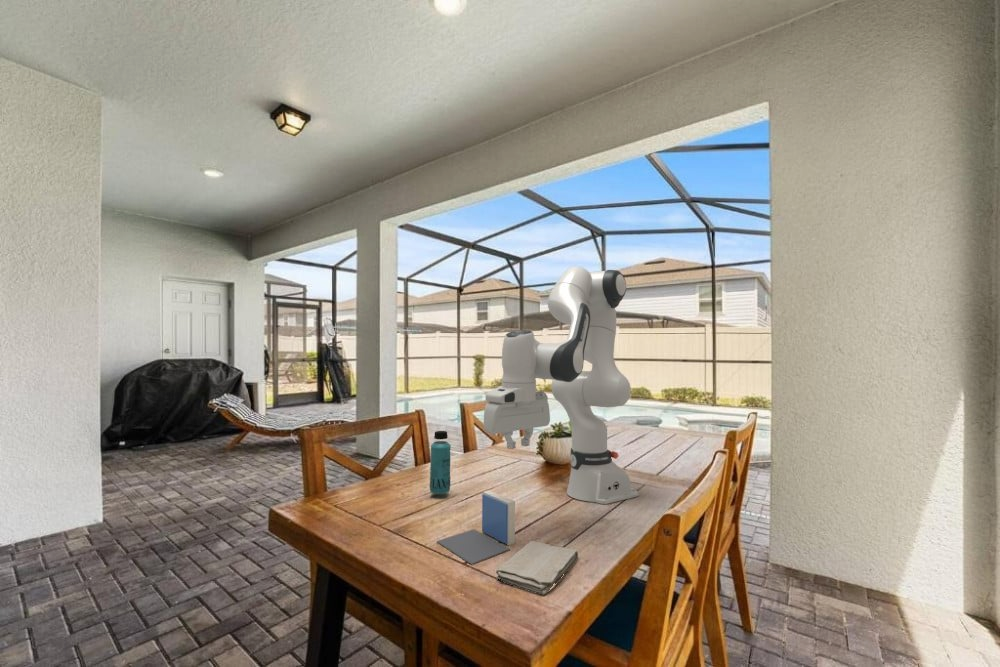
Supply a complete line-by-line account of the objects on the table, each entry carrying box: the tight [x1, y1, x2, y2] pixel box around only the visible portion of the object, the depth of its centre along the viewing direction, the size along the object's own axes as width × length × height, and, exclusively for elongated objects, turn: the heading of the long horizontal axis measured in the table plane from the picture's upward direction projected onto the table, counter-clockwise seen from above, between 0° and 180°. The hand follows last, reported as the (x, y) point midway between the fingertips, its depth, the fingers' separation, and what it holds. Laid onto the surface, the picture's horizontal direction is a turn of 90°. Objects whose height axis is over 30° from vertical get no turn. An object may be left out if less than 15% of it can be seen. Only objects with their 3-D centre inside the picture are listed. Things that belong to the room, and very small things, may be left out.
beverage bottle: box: [429, 430, 452, 495], centre depth 139 cm, size 6×7×20 cm
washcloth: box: [495, 540, 579, 596], centre depth 94 cm, size 12×18×3 cm, turn 151°
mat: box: [436, 528, 511, 566], centre depth 104 cm, size 11×14×1 cm
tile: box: [481, 490, 516, 546], centre depth 109 cm, size 2×10×10 cm, turn 40°
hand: (518, 447), depth 114 cm, fingers open, 3 cm apart
